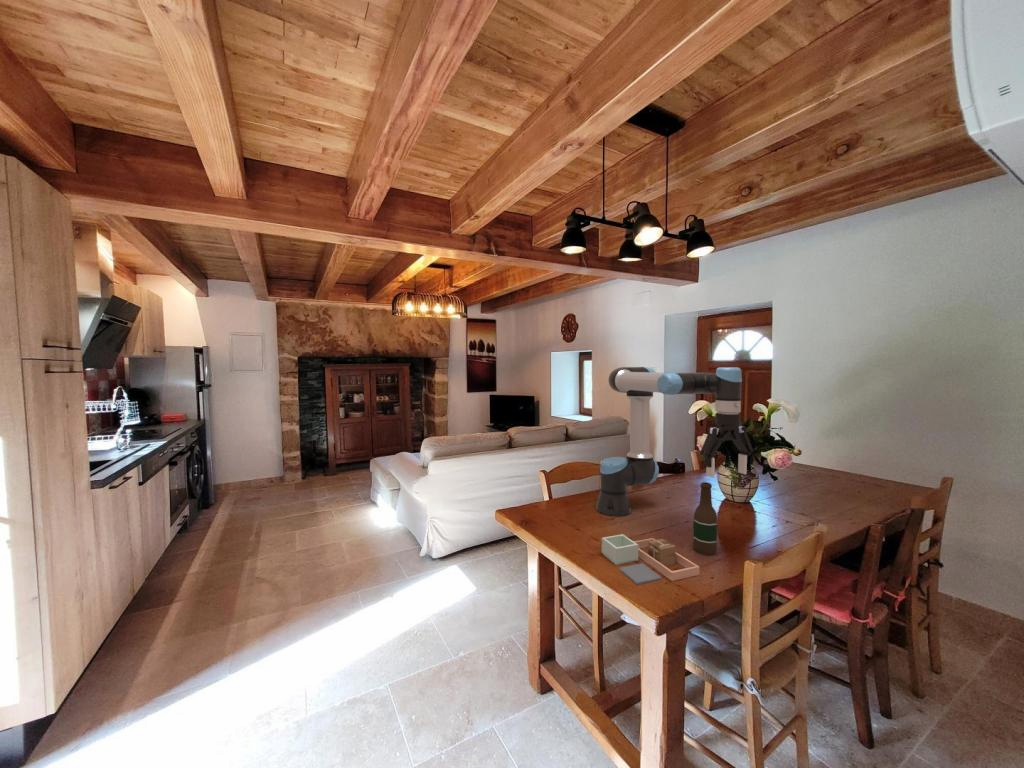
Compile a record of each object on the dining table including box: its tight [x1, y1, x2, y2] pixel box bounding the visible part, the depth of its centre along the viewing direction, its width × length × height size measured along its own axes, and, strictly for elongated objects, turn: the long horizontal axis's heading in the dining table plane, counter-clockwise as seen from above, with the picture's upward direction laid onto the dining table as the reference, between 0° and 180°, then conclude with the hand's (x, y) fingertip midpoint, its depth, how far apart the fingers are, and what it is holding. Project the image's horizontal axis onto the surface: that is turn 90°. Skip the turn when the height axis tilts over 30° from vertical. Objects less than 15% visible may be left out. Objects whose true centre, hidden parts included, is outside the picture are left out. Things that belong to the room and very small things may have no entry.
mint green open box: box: [601, 533, 639, 566], centre depth 130 cm, size 9×9×6 cm
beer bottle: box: [692, 481, 718, 557], centre depth 134 cm, size 8×8×24 cm
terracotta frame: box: [633, 537, 701, 582], centre depth 127 cm, size 22×11×2 cm, turn 19°
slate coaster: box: [618, 562, 663, 586], centre depth 119 cm, size 9×9×1 cm
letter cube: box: [647, 538, 677, 567], centre depth 127 cm, size 6×6×6 cm
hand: (726, 475), depth 131 cm, fingers open, 13 cm apart
